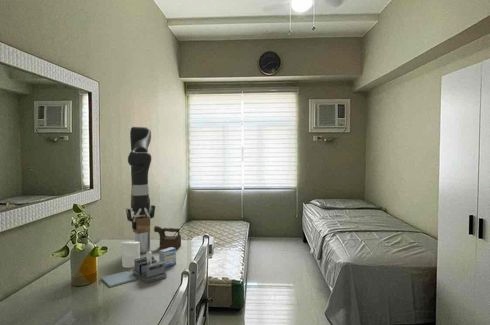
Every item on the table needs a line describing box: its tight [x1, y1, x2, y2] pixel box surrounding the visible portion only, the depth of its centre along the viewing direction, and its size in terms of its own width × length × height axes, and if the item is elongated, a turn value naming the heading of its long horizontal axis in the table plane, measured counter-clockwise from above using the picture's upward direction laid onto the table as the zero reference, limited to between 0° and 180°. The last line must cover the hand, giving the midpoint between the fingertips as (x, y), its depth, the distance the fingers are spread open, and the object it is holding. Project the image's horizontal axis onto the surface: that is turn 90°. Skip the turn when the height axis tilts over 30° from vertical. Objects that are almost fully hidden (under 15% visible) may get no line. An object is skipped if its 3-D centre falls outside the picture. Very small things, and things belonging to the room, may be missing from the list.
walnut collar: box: [132, 215, 151, 234], centre depth 152 cm, size 6×6×7 cm
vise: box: [132, 250, 168, 284], centre depth 155 cm, size 16×10×12 cm, turn 41°
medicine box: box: [158, 247, 177, 269], centre depth 168 cm, size 8×4×9 cm, turn 143°
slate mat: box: [100, 270, 137, 288], centre depth 150 cm, size 12×12×1 cm
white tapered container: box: [121, 240, 141, 269], centre depth 169 cm, size 9×9×12 cm
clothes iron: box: [153, 225, 182, 251], centre depth 198 cm, size 8×16×13 cm, turn 83°
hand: (141, 228), depth 152 cm, fingers closed on walnut collar, 6 cm apart
